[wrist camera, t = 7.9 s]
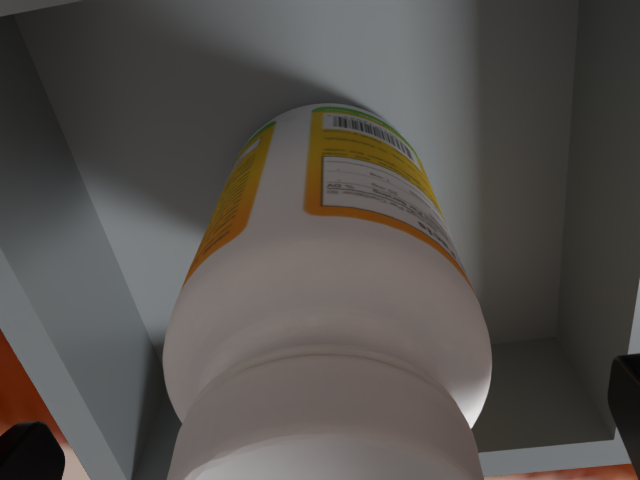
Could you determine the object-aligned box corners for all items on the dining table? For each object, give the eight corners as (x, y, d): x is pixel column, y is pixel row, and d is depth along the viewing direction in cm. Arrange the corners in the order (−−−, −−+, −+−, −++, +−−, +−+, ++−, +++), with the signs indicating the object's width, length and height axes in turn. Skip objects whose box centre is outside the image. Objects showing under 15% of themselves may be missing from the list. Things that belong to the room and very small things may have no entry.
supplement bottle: (268, 294, 16) (202, 677, 8) (199, 132, 14) (-9, 444, 5) (442, 252, 15) (576, 632, 7) (401, 71, 13) (537, 327, 4)
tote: (618, -162, 11) (796, -222, 7) (573, 336, 18) (649, 461, 14) (-25, -33, 13) (-206, -16, 8) (157, 384, 20) (109, 511, 15)
